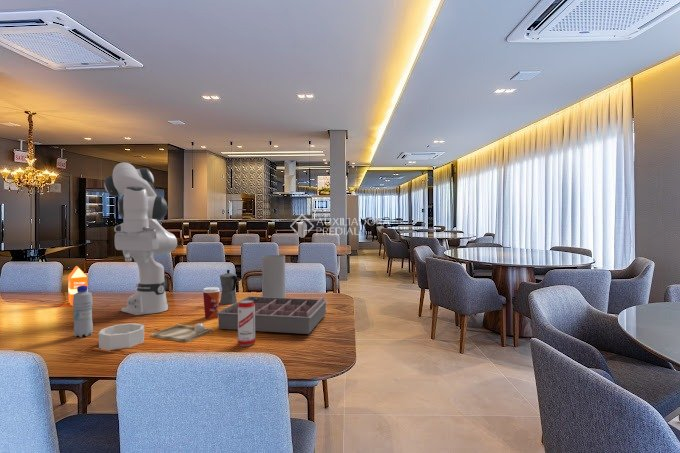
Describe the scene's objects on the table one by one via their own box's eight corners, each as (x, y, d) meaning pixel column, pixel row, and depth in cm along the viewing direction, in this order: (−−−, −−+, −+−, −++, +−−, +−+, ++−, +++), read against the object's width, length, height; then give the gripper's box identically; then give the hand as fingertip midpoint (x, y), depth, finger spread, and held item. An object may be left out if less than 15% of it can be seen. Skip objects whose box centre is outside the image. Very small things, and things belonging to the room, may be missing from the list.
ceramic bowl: (91, 347, 136) (90, 332, 136) (126, 335, 149) (125, 322, 149) (118, 352, 131) (118, 337, 130) (152, 340, 144) (151, 325, 143)
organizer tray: (248, 312, 185) (248, 292, 185) (327, 316, 178) (327, 295, 178) (215, 332, 154) (215, 308, 153) (310, 338, 147) (310, 312, 146)
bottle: (78, 339, 144) (76, 287, 144) (69, 336, 148) (68, 286, 147) (96, 334, 150) (95, 284, 150) (88, 331, 154) (87, 283, 153)
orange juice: (85, 300, 210) (84, 265, 209) (88, 303, 203) (87, 266, 203) (68, 302, 205) (67, 266, 204) (70, 305, 198) (69, 268, 198)
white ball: (191, 334, 149) (191, 324, 149) (199, 331, 153) (199, 321, 153) (199, 335, 148) (199, 325, 147) (207, 332, 151) (206, 322, 151)
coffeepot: (214, 301, 207) (214, 269, 206) (230, 299, 213) (230, 267, 213) (228, 306, 196) (227, 272, 195) (244, 303, 202) (244, 270, 202)
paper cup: (214, 321, 170) (214, 290, 169) (199, 320, 171) (199, 289, 171) (223, 316, 177) (223, 286, 177) (208, 315, 179) (208, 286, 178)
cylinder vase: (274, 304, 201) (274, 258, 200) (257, 301, 207) (257, 256, 207) (289, 300, 211) (289, 255, 210) (273, 297, 218) (273, 254, 217)
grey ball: (117, 336, 137) (126, 327, 139) (118, 339, 140) (126, 330, 142) (126, 342, 137) (135, 333, 139) (127, 345, 140) (135, 336, 142)
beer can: (239, 341, 142) (239, 299, 142) (256, 340, 143) (256, 299, 142) (236, 347, 136) (236, 303, 136) (254, 346, 137) (253, 303, 136)
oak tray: (150, 337, 146) (150, 333, 146) (178, 327, 159) (178, 324, 159) (186, 343, 140) (186, 339, 140) (212, 332, 153) (212, 328, 153)
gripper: (162, 227, 148) (163, 262, 149) (125, 226, 156) (126, 260, 156) (148, 227, 142) (149, 264, 143) (111, 227, 150) (111, 261, 150)
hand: (136, 262), depth 149 cm, fingers open, 8 cm apart
